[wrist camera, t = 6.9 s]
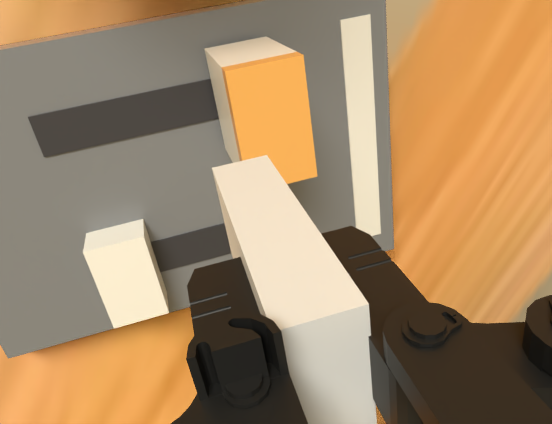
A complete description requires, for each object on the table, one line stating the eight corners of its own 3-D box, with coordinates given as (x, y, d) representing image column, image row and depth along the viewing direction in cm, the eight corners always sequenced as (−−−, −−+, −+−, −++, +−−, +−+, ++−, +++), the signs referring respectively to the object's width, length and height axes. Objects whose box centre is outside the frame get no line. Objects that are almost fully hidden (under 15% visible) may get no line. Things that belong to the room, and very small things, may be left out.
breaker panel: (367, -23, 25) (404, -22, 22) (380, 234, 33) (409, 265, 30) (-129, 69, 22) (-180, 88, 18) (15, 335, 29) (-1, 384, 26)
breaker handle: (266, 36, 23) (303, 54, 18) (280, 135, 25) (317, 176, 20) (204, 48, 22) (224, 71, 17) (225, 148, 25) (248, 193, 20)
